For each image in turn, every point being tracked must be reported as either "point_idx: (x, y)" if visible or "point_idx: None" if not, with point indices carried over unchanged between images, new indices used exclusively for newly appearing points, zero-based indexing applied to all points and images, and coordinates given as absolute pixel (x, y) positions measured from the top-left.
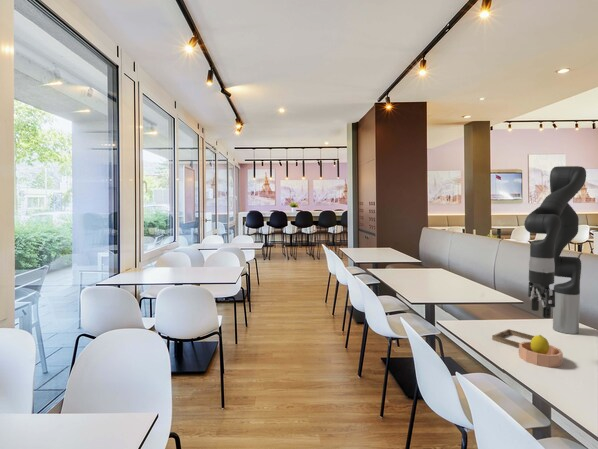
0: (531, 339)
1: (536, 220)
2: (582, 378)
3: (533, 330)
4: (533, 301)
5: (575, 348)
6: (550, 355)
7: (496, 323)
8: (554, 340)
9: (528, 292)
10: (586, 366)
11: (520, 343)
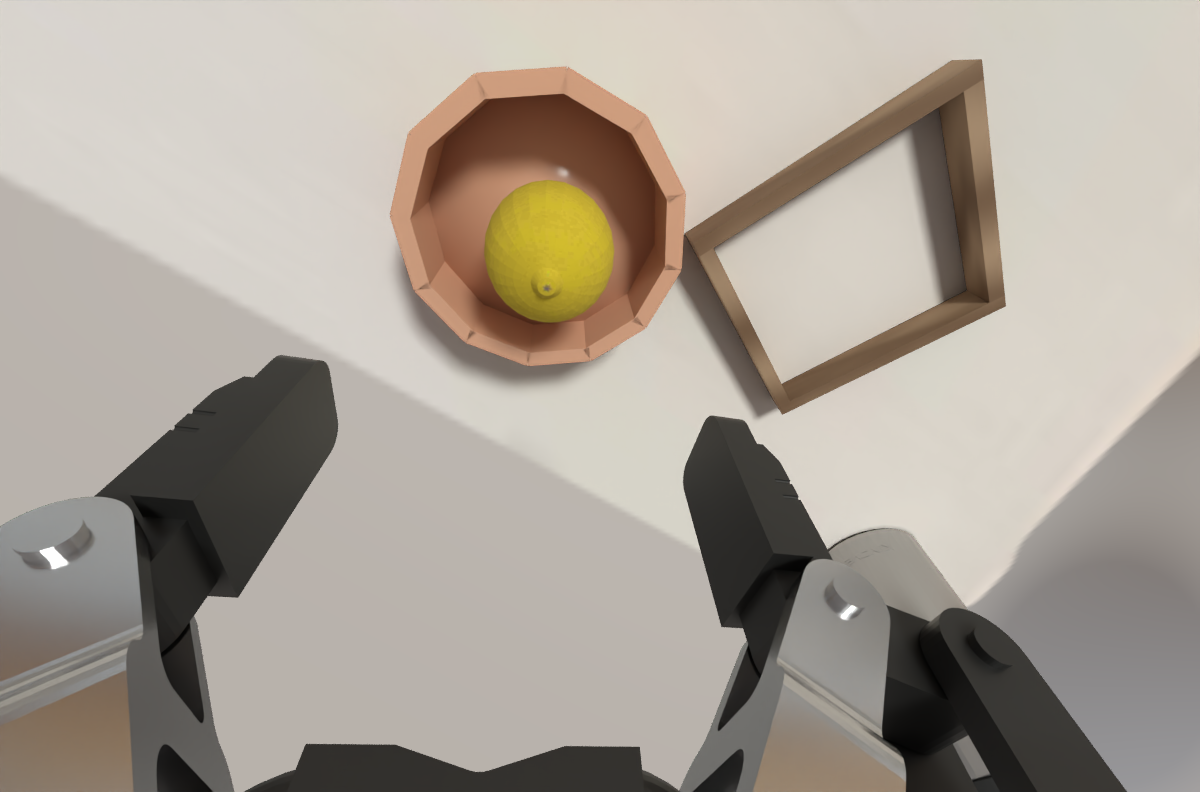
0: (829, 363)
1: None
2: (292, 292)
3: (934, 450)
4: (758, 556)
5: (680, 484)
6: (399, 229)
7: (1151, 321)
8: (787, 462)
9: (1080, 746)
10: (470, 406)
11: (651, 137)
